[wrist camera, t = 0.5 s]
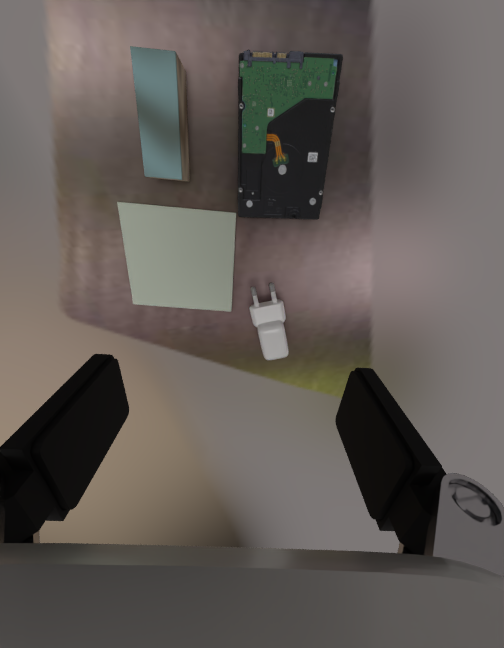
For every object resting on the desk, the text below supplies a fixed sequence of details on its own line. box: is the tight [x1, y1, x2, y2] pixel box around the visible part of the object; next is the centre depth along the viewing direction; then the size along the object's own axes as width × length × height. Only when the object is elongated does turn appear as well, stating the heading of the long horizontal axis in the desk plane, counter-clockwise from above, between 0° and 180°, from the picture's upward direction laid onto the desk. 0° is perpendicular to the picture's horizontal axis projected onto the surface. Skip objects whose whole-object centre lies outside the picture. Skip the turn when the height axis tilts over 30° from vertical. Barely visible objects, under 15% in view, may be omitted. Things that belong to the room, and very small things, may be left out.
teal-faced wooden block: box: [130, 46, 190, 182], centre depth 26 cm, size 10×4×4 cm, turn 176°
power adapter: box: [249, 283, 289, 360], centre depth 35 cm, size 11×5×6 cm, turn 13°
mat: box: [117, 202, 236, 312], centre depth 34 cm, size 14×15×1 cm
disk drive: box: [238, 50, 343, 219], centre depth 27 cm, size 10×3×15 cm
